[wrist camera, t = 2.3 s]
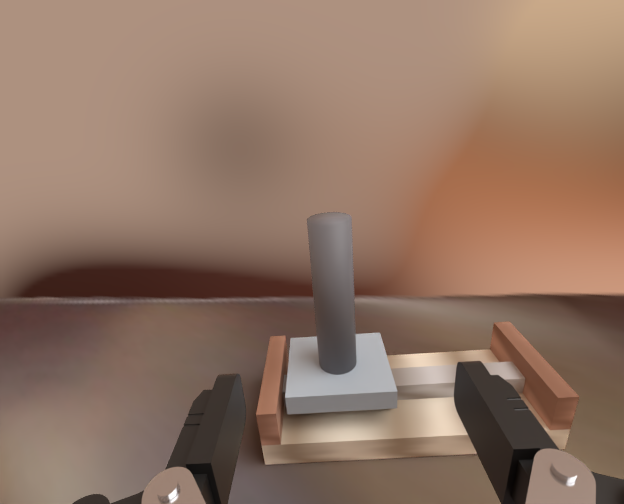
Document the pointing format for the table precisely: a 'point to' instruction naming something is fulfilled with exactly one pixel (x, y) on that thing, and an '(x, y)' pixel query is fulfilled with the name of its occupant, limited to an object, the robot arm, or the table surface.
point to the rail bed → (410, 406)
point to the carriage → (336, 334)
